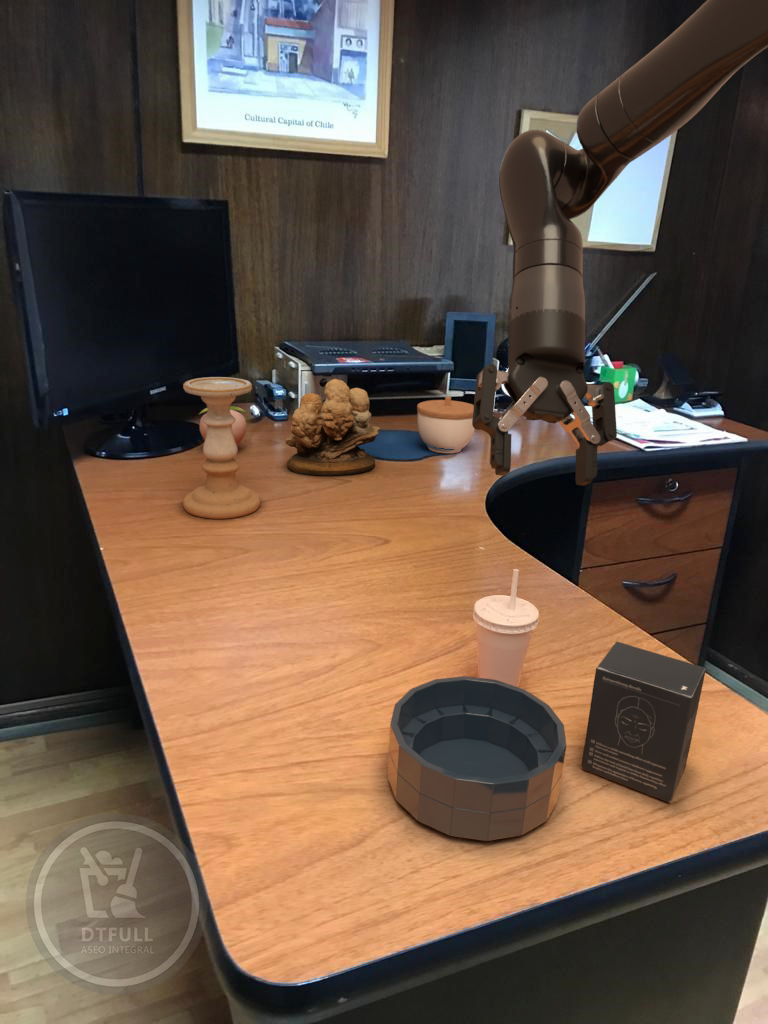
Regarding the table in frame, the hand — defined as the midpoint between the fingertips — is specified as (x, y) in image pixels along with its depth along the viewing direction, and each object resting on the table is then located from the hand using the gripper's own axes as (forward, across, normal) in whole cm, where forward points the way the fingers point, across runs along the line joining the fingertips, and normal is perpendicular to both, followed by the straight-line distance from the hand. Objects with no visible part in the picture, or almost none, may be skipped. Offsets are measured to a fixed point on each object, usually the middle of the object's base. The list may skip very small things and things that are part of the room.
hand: (544, 478), depth 75 cm
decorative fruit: (-22, -29, +86) cm, 94 cm away
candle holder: (-5, -29, +59) cm, 66 cm away
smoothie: (+21, -1, +8) cm, 23 cm away
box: (+26, +8, -3) cm, 28 cm away
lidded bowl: (-27, +16, +84) cm, 89 cm away
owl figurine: (-18, -9, +76) cm, 78 cm away
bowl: (+28, -7, -2) cm, 29 cm away
